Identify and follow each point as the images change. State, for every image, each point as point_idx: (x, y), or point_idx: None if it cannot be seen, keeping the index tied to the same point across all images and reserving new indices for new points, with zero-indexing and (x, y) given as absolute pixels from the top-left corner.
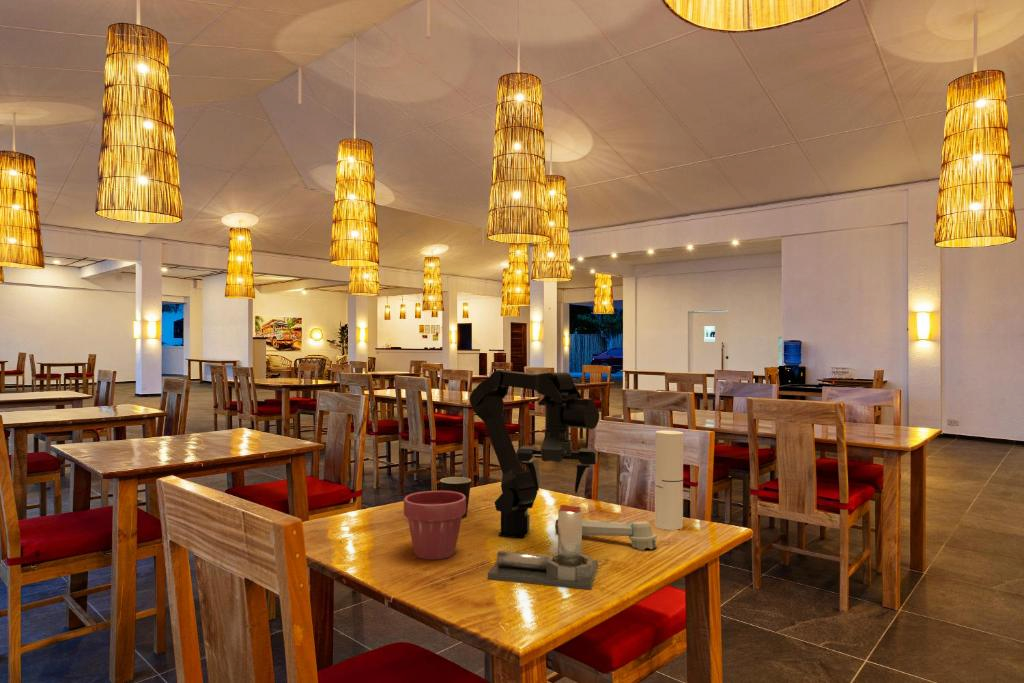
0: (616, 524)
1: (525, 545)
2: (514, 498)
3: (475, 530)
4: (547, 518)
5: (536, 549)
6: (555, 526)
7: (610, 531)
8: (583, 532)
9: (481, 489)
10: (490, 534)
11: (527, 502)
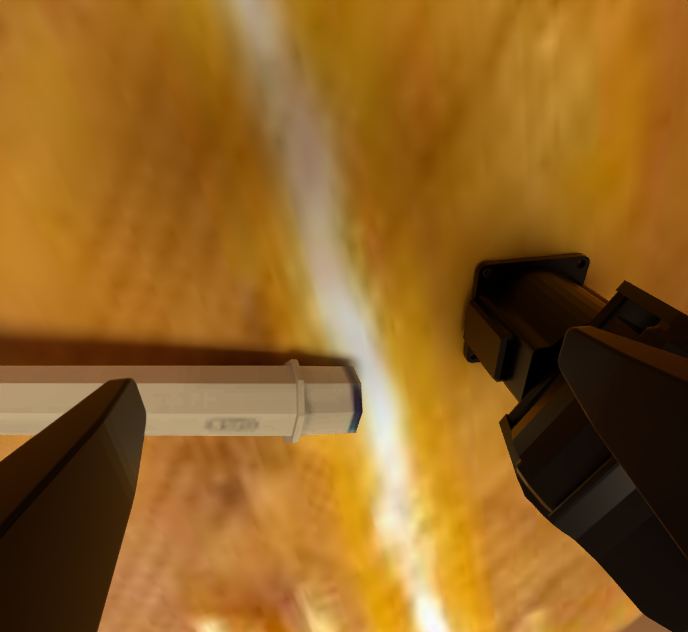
0: (6, 405)
1: (458, 173)
2: (678, 323)
3: (671, 295)
4: (413, 499)
5: (398, 128)
6: (358, 380)
7: (56, 370)
8: (218, 366)
9: (621, 616)
10: (615, 269)
11: (551, 386)
